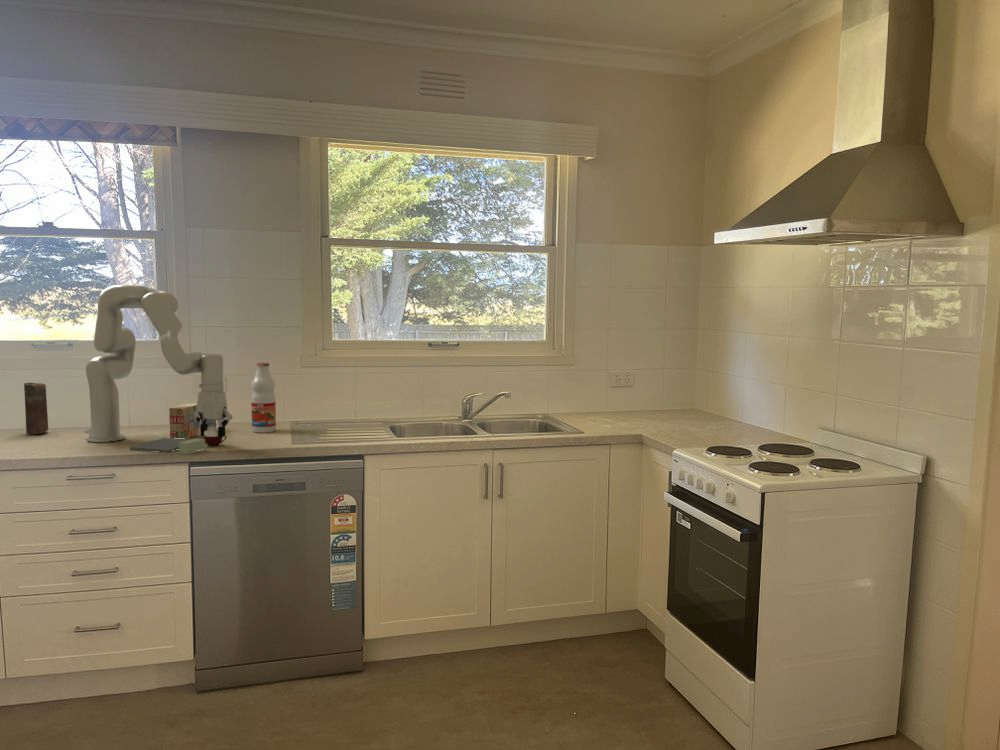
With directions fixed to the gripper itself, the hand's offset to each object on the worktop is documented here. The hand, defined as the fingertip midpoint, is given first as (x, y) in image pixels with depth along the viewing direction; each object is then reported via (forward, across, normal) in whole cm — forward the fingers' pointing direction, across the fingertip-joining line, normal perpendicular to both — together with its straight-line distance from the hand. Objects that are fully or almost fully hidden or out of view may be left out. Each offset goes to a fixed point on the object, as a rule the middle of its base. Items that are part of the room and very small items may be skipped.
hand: (212, 435), depth 269 cm
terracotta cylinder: (+4, -8, +6) cm, 10 cm away
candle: (+5, -76, -3) cm, 77 cm away
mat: (+4, -14, -7) cm, 17 cm away
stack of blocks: (+4, -21, +17) cm, 27 cm away
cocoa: (+4, 0, 0) cm, 4 cm away
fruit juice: (+4, +2, +31) cm, 31 cm away
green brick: (+4, 0, -11) cm, 12 cm away
